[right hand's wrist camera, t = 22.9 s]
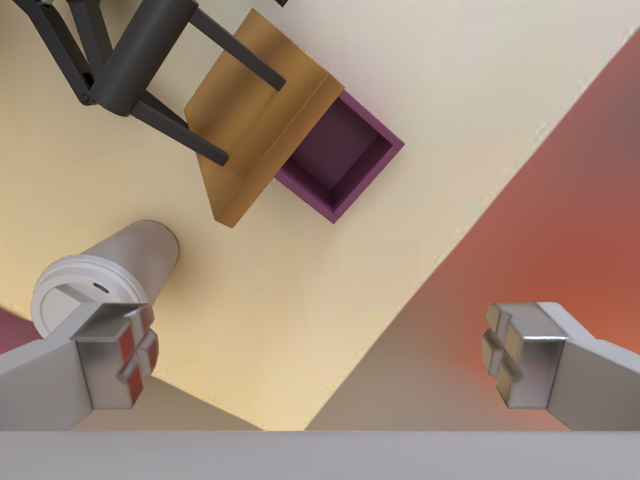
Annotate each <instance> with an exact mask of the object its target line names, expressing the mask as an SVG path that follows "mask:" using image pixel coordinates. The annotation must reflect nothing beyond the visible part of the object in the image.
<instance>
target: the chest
mask: <svg viewBox="0 0 640 480" xmlns="http://www.w3.org/2000/svg"><path fill="white" fill-rule="evenodd" d="M404 145H405V144H404V143H403V142H402V141H401V140H400V139H399V138H398V137H397V136H396V135H394V134H393V133H392V132H391V131H390V130H389V129H388V128H387V127H385V126H384V125H383V124H382V123H381V122H380V121H379V120H378V119H377V118H375V117H374V116H373V115H372V114H371V113H370V112H369V111H368V110H366V109H365V108H364V107H363V106H362V105H361V104H360V103H359V102H358V101H356V100H355V99H354V98H353V97H352V96H351V95H350V94H349V93H347V92H346V91H345V90H343V91H342V92H341V93H340V95H339V96H338V97H337V98H336V100H335V101H334V102H333V103H332V105H331V106H330V107H329V108H328V110H327V111H326V112H325V113H324V115H323V116H322V117H321V118H320V120H319V121H318V122H317V123H316V125H315V126H314V127H313V128H312V130H311V131H310V132H309V133H308V135H307V136H306V137H305V138H304V140H303V141H302V142H301V143H300V145H299V146H298V147H297V148H296V150H295V151H294V152H293V153H292V155H291V156H290V157H289V158H288V160H287V161H286V162H285V163H284V165H283V166H282V167H281V168H280V170H279V171H278V172H277V173H276V175H275V176H274V178H276V179H277V180H278V181H280V182H281V183H282V184H283V185H285V186H286V187H287V188H288V189H290V190H291V191H292V192H294V193H295V194H296V195H297V196H299V197H300V198H301V199H302V200H304V201H305V202H306V203H307V204H309V205H310V206H311V207H313V208H314V209H315V210H316V211H318V212H319V213H320V214H321V215H323V216H324V217H325V218H327V219H328V220H329V221H330V222H332V223H333V224H334V223H335V222H336V221H337V220H338V219H339V218H340V217H341V216H342V215H343V213H344V212H345V211H346V210H347V209H348V208H349V207H350V206H351V204H352V203H353V202H354V201H355V200H356V199H357V198H358V197H359V195H360V194H361V193H362V192H363V191H364V190H365V189H366V188H367V186H368V185H369V184H370V183H371V182H372V181H373V180H374V179H375V177H376V176H377V175H378V174H379V173H380V172H381V171H382V170H383V168H384V167H385V166H386V165H387V164H388V163H389V162H390V161H391V160H392V158H393V157H394V156H395V155H396V154H397V153H398V152H399V150H400V149H401V148H402V147H403V146H404Z"/></svg>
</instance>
